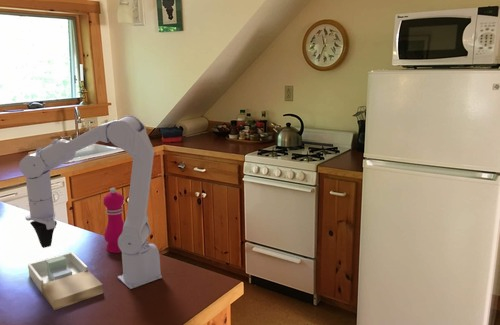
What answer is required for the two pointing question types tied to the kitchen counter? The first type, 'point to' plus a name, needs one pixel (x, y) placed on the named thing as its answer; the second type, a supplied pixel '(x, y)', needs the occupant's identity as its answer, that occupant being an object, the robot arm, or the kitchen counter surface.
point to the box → (41, 275)
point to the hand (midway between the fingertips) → (46, 246)
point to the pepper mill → (113, 219)
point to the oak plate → (71, 289)
